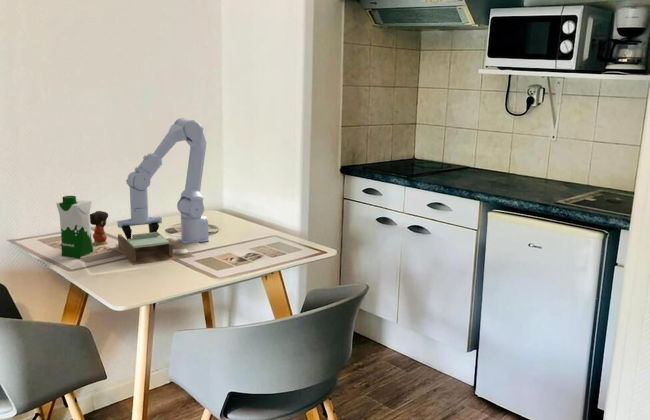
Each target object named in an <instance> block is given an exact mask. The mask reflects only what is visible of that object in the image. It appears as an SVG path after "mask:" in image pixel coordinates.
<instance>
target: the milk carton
mask: <svg viewBox="0 0 650 420" xmlns="http://www.w3.org/2000/svg"><path fill="white" fill-rule="evenodd" d="M55 204H56V207H57V208H56V209H57V211H58V214H59V222H60V223H59V224H60V226H59V227H60V238H61V240H60V241H61V256H62V257H66V258H73V259H82V258H81V257H83V256H86V255H89V254H91V253H94V246H93V241H92V229H91V228H92V227H91V223H90V214H91V208H92V200H86V199H77V196H75V195H65V196H62V201H60V202H56V203H55Z"/></svg>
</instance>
